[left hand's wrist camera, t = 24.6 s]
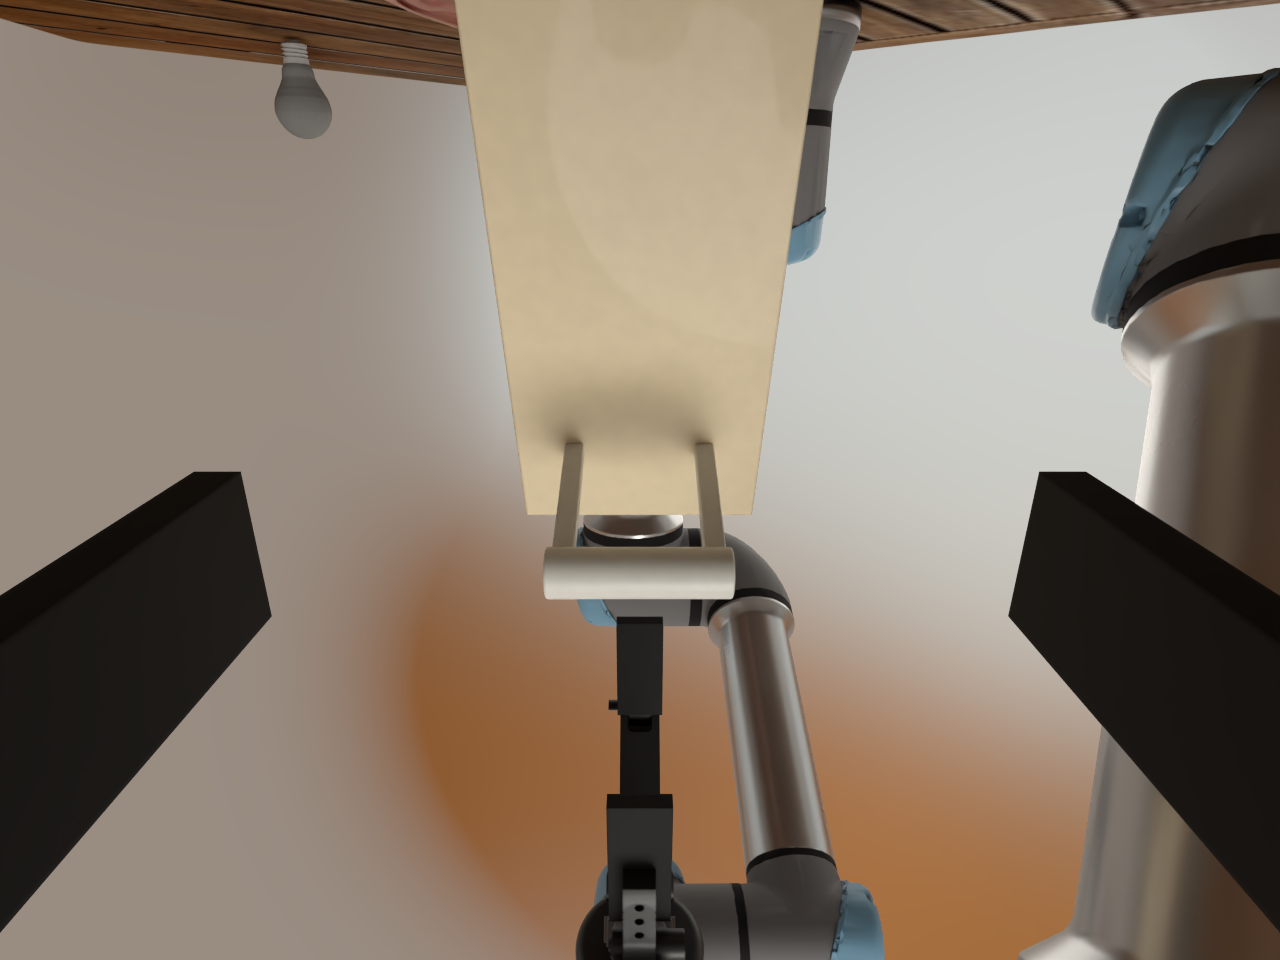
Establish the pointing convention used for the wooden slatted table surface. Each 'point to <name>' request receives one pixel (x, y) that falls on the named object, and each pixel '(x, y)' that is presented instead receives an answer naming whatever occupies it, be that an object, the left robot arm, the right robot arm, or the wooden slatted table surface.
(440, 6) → the anatomical model
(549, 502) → the lid
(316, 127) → the light bulb
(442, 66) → the wooden slatted table surface
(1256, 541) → the left robot arm
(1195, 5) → the wooden slatted table surface
